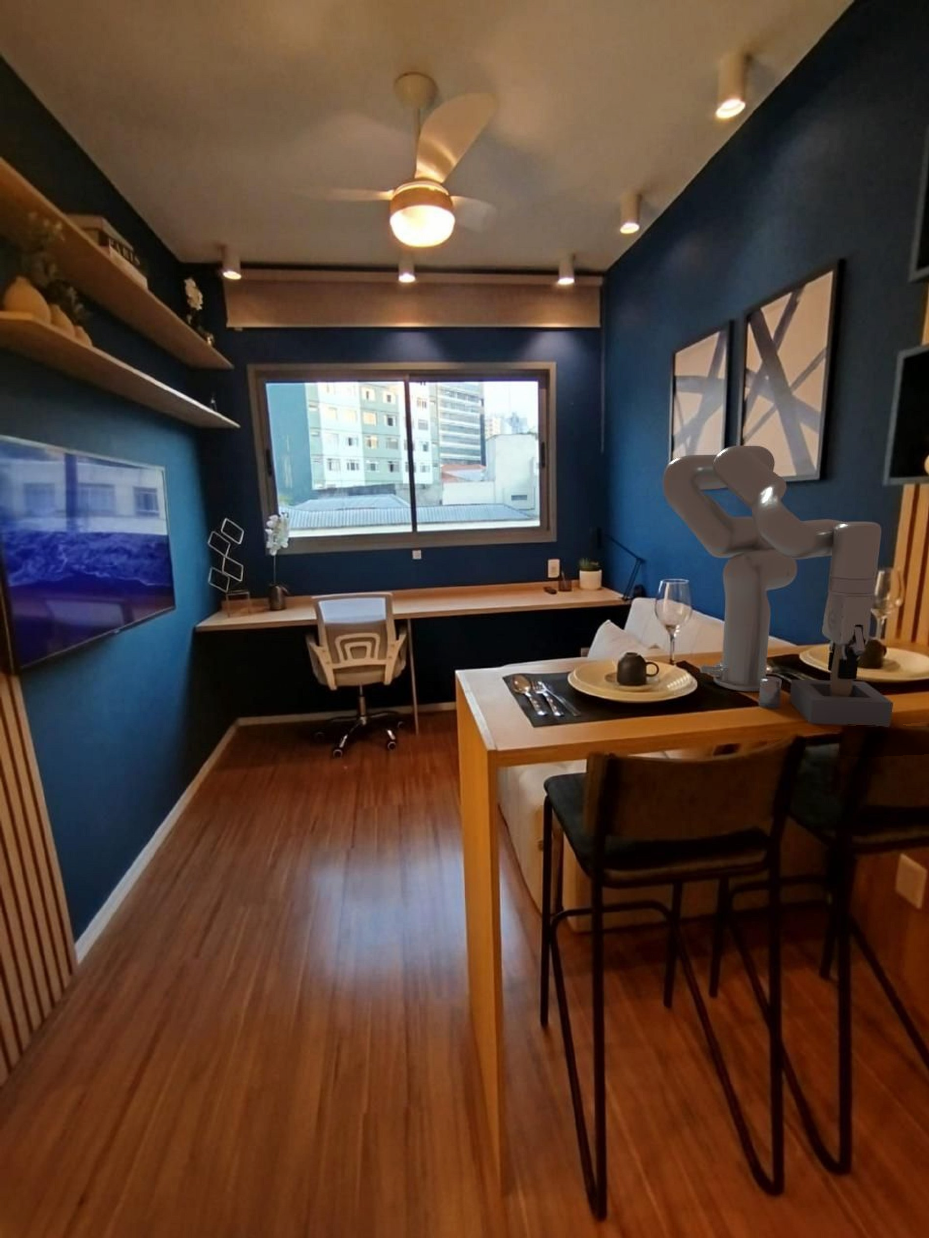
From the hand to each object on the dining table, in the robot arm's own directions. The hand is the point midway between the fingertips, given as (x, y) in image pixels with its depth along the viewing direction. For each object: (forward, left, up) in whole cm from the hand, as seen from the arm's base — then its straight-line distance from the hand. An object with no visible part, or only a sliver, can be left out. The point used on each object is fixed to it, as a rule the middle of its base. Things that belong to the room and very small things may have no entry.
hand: (841, 673), depth 114 cm
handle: (0, 0, -6) cm, 6 cm away
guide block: (0, 0, -9) cm, 9 cm away
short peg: (-12, +3, -9) cm, 15 cm away
